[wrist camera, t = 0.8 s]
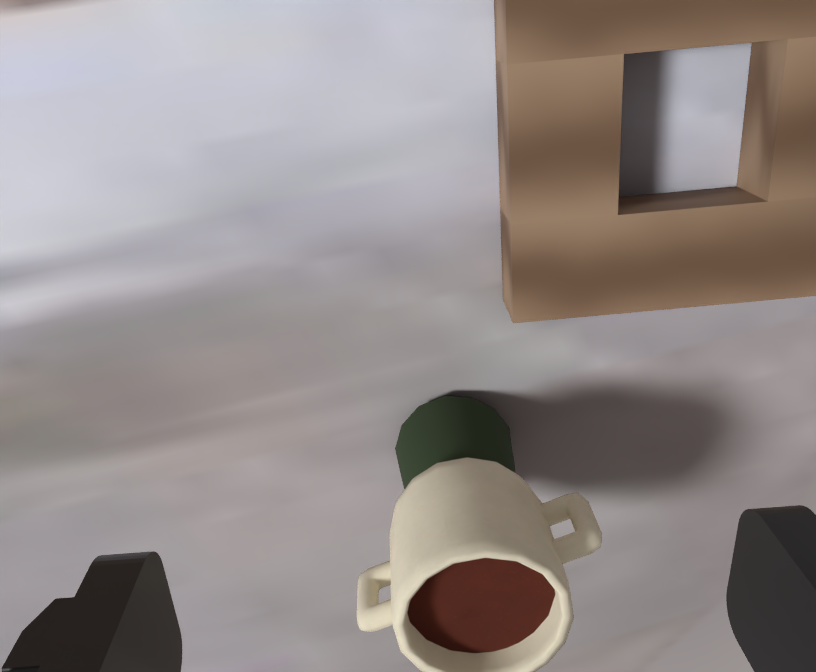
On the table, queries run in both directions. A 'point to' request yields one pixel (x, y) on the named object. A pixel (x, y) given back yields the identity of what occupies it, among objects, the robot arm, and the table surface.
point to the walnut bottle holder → (600, 161)
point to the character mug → (473, 549)
